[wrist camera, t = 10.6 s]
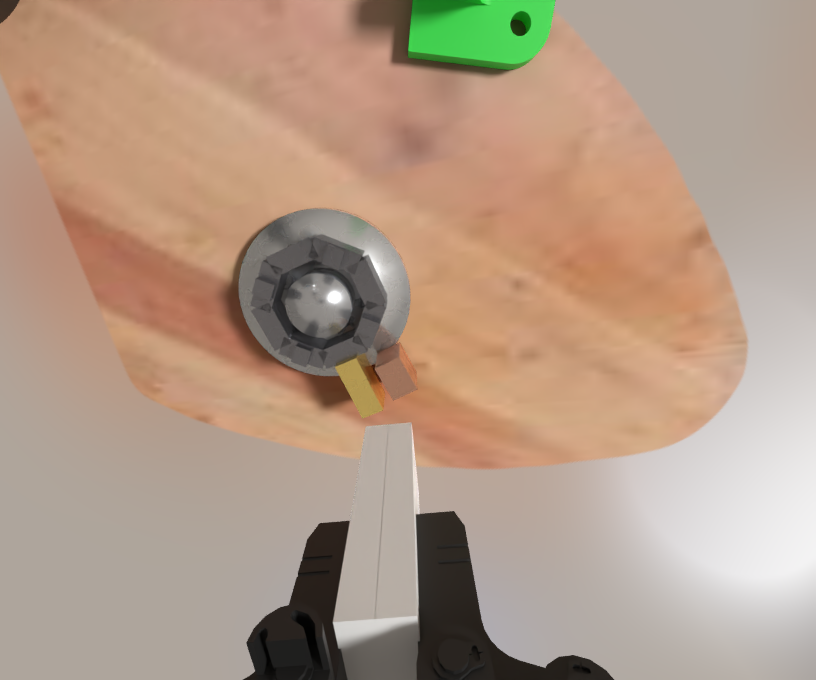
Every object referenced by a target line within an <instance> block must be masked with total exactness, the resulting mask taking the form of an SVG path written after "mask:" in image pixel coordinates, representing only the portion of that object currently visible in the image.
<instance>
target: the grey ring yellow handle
mask: <svg viewBox="0 0 816 680" xmlns="http://www.w3.org/2000/svg"><path fill="white" fill-rule="evenodd" d="M364 252H365V251H364V250H362V249H359V248H356V247H354V246H351V245H349V244H346V243H344V242H341V241H338V240H336V239H333V238H331V237H328V236H326V235H323V234H319V235H316V234H315V235H312V236H310V237H308V238H306V239H304V240H302V241H299V242H297V243H295V244H293V245H291V246H289V247H287V248H284V249H282V250H280V251H278V252H276V253H274V254H272V255H269V256H267V257H266V260H264V261H262V264H261V267H260V271H259V275H258V277H257V278H256V279H255V283H254V286H253V290H252V295H253V297H252V301H251V304H250V306H253V307H255V308H254V309H252V310H251V312H252V313H253V315H254V317H255V318H256V320H257V322H258V323H259V325H260V327H261V329H262V330H263V332H264V334H265V335H266V337H267V339H268V341H269V342H270V344H271V346H272V347H273V349H274V351H275V350H278V349H280V351H279V354H280V355H283V356H286V357H288V358H291V362H292V363H295V364H298V365H301V366H304V367H306V366H307V365H308V364H309V365H312V366H314V367H317V368H320V369H322V368H323V366H324V365H325V366H326V368H327V369H328V368H330V367H333V366H335V369H336V370H337V372H338V374H339V376H340V378H341V380H342V382H343V383H344V385H345V387H346V389H347V391H348V393H349V394H350V396H351V398H352V400H353V402H354V404H355V405H356V407H357V409H358V411H359V413H360V415H361V417H362V418H365V417H367V416H370V415H373V414H375V413H378V412H380V411H383V408H384V398H385V392H384V390H383V388H382V386H381V384H380V382H379V380H378V378H377V376H376V374H375V372H374V370H373V368H372V366H371V365H370V363H369V361H368V359H367V357H366V355H365V353H366V352H367V351H368V348H370V349H371V346H372V344H373V341H374V339H375V336H376V333H377V331H378V328H379V325H380V323H381V320H382V318H383V315H384V312H385V310H386V307H387V301H388V300H387V293H386V291H385V289H384V287H383V284H382V282H381V280H380V278H379V276H378V274H377V272H376V269H375V267H374V265H373V263H372V261H371V259H370V257H369V254H368V255H366V256H363V254H364ZM312 260H317V261H319V262H322V264H324V265H326V266H329V267H332V268H334V269H337V270H339V269H340V270H343V271H346V272H348V273H349V274H350V276H351V278H352V280H353V282H354V284H355V286H356V288H357V290H358V292H359V294H360V296H361V298H362V300H363V302H364V304H365V307H364V310H363V313H362V315H361V318H360V321H359V324H358V326H357V328H354V329H352V330H350V331H347V332H345V333H343V334H340V335H338V336H336V337H333V338H331V339H329V340H327V339H325V338H318V337H312V336H309V335H306V334H304V333H302V332H301V331H299V330H298V329H297V328H296V327H295V326H294V325H293V324H292V322H291V321H290V319H289V317H288V315H287V312H286V308H285V306H284V304H283V302H282V301H281V298H282V295H283V291H284V288H285V284H286V281H287V278H288V274H289V271H290V270H292V269H294V268H296V267H299V266H301V265H303V264H305V263H307V262H310V261H312Z"/></svg>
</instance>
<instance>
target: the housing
mask: <svg viewBox="0 0 816 680" xmlns="http://www.w3.org/2000/svg"><path fill="white" fill-rule="evenodd" d="M315 234H316V235H319V234H323V235H326V236H328V237H331V238H333V239H336V240H338V241H341V242H344V243H346V244H349V245H351V246H354V247H356V248H359V249H362V250H364V251H365V252H364V254H363V256H366V255H368V254H369V257H370V259H371V261H372V263H373V265H374V267H375V269H376V272H377V274H378V276H379V278H380V280H381V282H382V284H383V287H384V289H385V291H386V293H387V300H388V301H387V307H386V310H385V312H384V315H383V318H382V320H381V323H380V325H379V328H378V331H377V333H376V336H375V339H374V341H373V344H372V346H371V349H370V348H368V351H367V352H366V353H365V355H366V357H367V359H368V361H369V363H370V365H373V364H374V363H376V364H375V371H376V372H377V374H378V376H379V377H380V379H381V381H382V382H383V384H384V386H385V387H386V389H387V391H388V393H389V394H390V396H391V398H392V399H393V401H394V400H396V399H398V398H400V397H402V396H404V395H406V394H408V393H411V392H413V391H415V390H417V375H416V370H415V369H414V367H413V365H412V363H411V361H410V360H409V358H408V356H407V354H406V352H405V351H404V349H403V347H402V345H401V343H400V342H399V343H397V344H396V342H397V341H398V339H399V338H400V336H401V334H402V332H403V330H404V327H405V325H406V322H407V318H408V315H409V308H410V285H409V279H408V274H407V271H406V268H405V265H404V263H403V260H402V258H401V256H400V254H399V253H398V251H397V249H396V248H395V246H394V245H393V244H392V242H391V241H390V240H389V239H388V237H387V236H385V235H384V234H383V233H382V232H381V231H380V230H379V229H378V228H377V227H375V226H374V225H373V224H371V223H370V222H368V221H366V220H365V219H363V218H361V217H359V216H357V215H354V214H352V213H349V212H345V211H341V210H337V209H329V208H314V209H307V210H301V211H297V212H294V213H290V214H288V215H285V216H283V217H281V218H279V219H277V220H276V221H274V222H273V223H271V224H270V225H268V226H267V227H266V228H265V229H264V230H263V231H262V232H261V233H260V234H259V235H258V236H257V237H256V238H255V240H254V241H253V242H252V244H251V245H250V247H249V249H248V250H247V252H246V255H245V257H244V260H243V262H242V266H241V270H240V276H239V298H240V305H241V308H242V312H243V315H244V318H245V320H246V322H247V325H248V327H249V328H250V330H251V332H252V333H253V335H254V336H255V338H256V339H257V340H258V342H259V343H260V344H261V345H262V346H263V347H264V348H265V349H266V350H267V351H268V352H269V353H270V354H271V355H272V356H274V357H275V358H276V359H278V360H279V361H281V362H282V363H284V364H286V365H288V366H290V367H292V368H294V369H296V370H299V371H302V372H305V373H309V374H313V375H320V376H339V374H338V372H337V370H336V369H335V366H333V367H330V368H328V369H327V368H326V366H325V365H324V366H323V368H322V369H320V368H317V367H314V366H312V365H309V364H308V365H307V366H306V367H304V366H301V365H298V364H295V363H292V362H291V358H288V357H286V356H283V355H280V354H279V351H280V349H278V350H275V351H274V349H273V347H272V346H271V344H270V342H269V341H268V339H267V337H266V335H265V334H264V332H263V330H262V329H261V327H260V325H259V323H258V322H257V320H256V318H255V317H254V315H253V313H252V312H251V310H252V309H254V308H255V307H253V306H250V304H251V301H252V297H253V295H252V290H253V286H254V283H255V279H256V278H257V277H258V275H259V271H260V267H261V264H262V261H264V260H266V257H267V256H269V255H272V254H274V253H276V252H278V251H280V250H282V249H284V248H287V247H289V246H291V245H293V244H295V243H297V242H299V241H302V240H304V239H306V238H308V237H310V236H312V235H315ZM281 301H282V302H283V304H284V306H285V308H286V312H287V315H288V317H289V319H290V321H291V322H292V324H293V325H294V326H295V327H296V328H297V329H298V330H299V331H301V332H302V333H304V334H306V335H309V336H312V337H318V338H325V339H327V340H329V339H331V338H333V337H336V336H338V335H340V334H343V333H345V332H347V331H350V330H352V329H354V328H357V326H358V324H359V321H360V318H361V315H362V313H363V310H364V307H365V304H364V302H363V300H362V298H361V296H360V294H359V292H358V290H357V288H356V286H355V284H354V282H353V280H352V278H351V276H350V274H349V273H348V272H346V271H343V270H340V269H339V270H337V269H334V268H332V267H329V266H326V265H324V264H322V262H319V261H317V260H312V261H310V262H307V263H305V264H303V265H301V266H299V267H296V268H294V269H292V270H290V271H289V274H288V278H287V281H286V284H285V288H284V291H283V295H282V298H281Z"/></svg>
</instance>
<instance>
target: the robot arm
mask: <svg viewBox="0 0 816 680" xmlns="http://www.w3.org/2000/svg"><path fill="white" fill-rule="evenodd" d="M18 2H19V0H0V23H2V22H3V21H4V20H5V19H6V18H7V17H8V16H9V15H10V14H11V13H12V11H13V10H14V9H15V7H16V6H17V4H18ZM247 646H248V650H249V653H250V656H251V659H252V662H253V665H254V668H255V672H254V673H253V674H252V675H250V676H249V677H247V678H245V679H243V680H614V679H613V678H612V677H611V676H610V675H609V673H608V672H607V671H606V670H604V669H603V668H602V667H600V666H599V665H597V664H596V663H594V662H593V661H591V660H589V659H585V658H582V657H578V656H574V655H571V656H563V657H558V658H556V659H555V660H554V661H552V662H551V663H549V664H548V665H547V666H546V668H543V667H540V666H537V665H533V664H530V663H526V662H523V661H519V660H517V659H514V658H512V657H510V656H508V655H507V654H505V653H504V652H502V651H501V650H500V649H498V648H497V647H496V645H495V644H494V643H493V642H492V641H491V640H490V638H489V637H488V635H487V633H486V632H485V630H484V626H483V623H482V620H481V614H480V609H479V603H478V598H477V592H476V587H475V581H474V575H473V570H472V565H471V559H470V553H469V548H468V543H467V537H466V531H465V526H464V524H463V523H462V522H461V521H460V519H459V518H458V516H457V515H456V514H455V512H454V511H452V512H451V511H450V512H438V513H425V514H420V512H419V491H418V481H417V471H416V462H415V452H414V442H413V433H412V423H400V424H388V425H377V426H366V429H365V435H364V440H363V446H362V452H361V458H360V464H359V470H358V477H357V482H356V488H355V494H354V500H353V506H352V512H351V518H350V521H342V522H329V523H320V524H319V525H318V526H317V528H316V529H315V530H314V532H313V533H312V534H311V535H310V537H309V538H308V539H307V543H306V547H305V550H304V554H303V558H302V561H301V565H300V568H299V571H298V577H297V579H296V582H295V586H294V589H293V593H292V596H291V600H290V603H289V605H288V606H284V607H280V608H278V609H277V610H275V611H273V612H272V613H270V614H268V615H267V616H265V618H263V619H262V620H261V622H260V623H259V624H258V625H257V626H256V627H255V628H254V629H253V632H252V633H251V635H250V637H249V639H248V641H247Z"/></svg>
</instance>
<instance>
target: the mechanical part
mask: <svg viewBox="0 0 816 680" xmlns="http://www.w3.org/2000/svg"><path fill="white" fill-rule="evenodd" d="M554 6H555V0H413V2H412V13H411V25H410V36H409V47H408V58H415V59H423V60H431V61H439V62H447V63H456V64H464V65H472V66H480V67H488V68H496V69H504V70H512V69H517V68H520V67H522V66H524V65H525V64H527V63H528V62H529V61H530V60H531V59H532V58H533V57H534V56H535V55H536V54H537V53H538V52H539V51H540V50H541V48H542V47H543V45H544V44H545V42H546V40H547V38H548V35H549V32H550V28H551V22H552V17H553V11H554ZM512 20H520V21H522V22H523V24H524V25H525V35H523V36H517V35H515V34H514V33H513V32H512V30H511V27H510V22H511V21H512Z"/></svg>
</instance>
